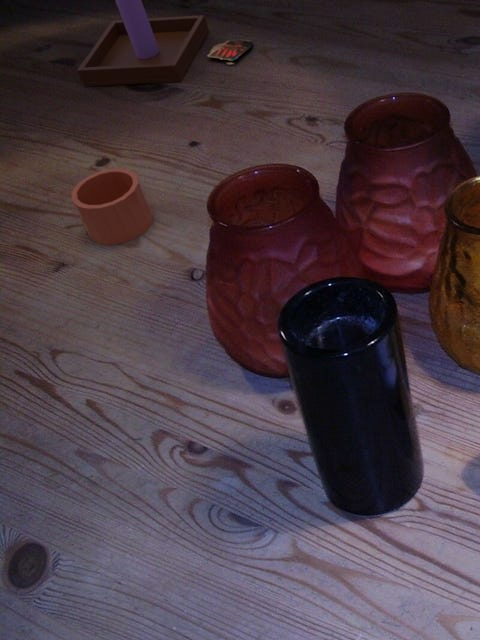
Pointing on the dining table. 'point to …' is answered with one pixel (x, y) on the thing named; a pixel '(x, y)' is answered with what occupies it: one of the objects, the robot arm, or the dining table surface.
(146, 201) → the cup
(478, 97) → the dining table surface
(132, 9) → the glue stick
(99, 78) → the tray
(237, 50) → the matchbox
